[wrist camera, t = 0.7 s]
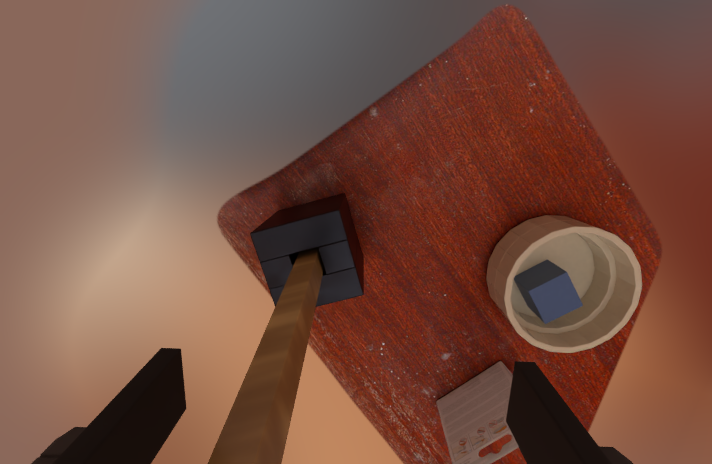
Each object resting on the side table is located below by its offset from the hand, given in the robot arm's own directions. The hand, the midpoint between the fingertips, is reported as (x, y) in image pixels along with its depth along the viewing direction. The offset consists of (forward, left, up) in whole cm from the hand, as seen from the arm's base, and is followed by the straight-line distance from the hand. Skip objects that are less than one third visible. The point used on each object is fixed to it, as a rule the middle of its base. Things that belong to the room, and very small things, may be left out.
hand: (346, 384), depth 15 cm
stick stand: (-1, -4, -26) cm, 26 cm away
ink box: (+21, +8, -26) cm, 35 cm away
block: (+10, +17, -25) cm, 32 cm away
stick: (-1, -4, -26) cm, 26 cm away
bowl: (+9, +18, -26) cm, 33 cm away
